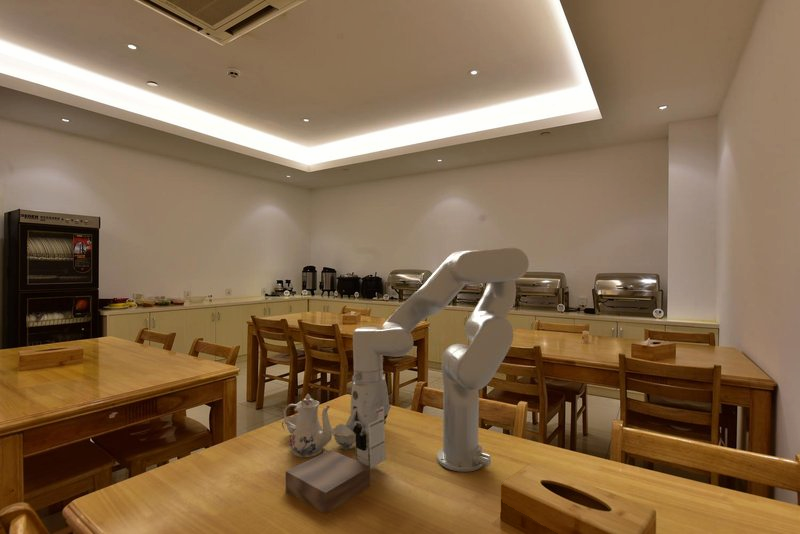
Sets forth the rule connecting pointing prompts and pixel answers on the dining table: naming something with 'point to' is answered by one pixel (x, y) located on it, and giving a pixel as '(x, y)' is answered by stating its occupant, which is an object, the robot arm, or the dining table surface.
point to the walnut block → (327, 480)
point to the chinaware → (314, 430)
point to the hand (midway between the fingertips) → (370, 443)
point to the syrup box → (373, 442)
